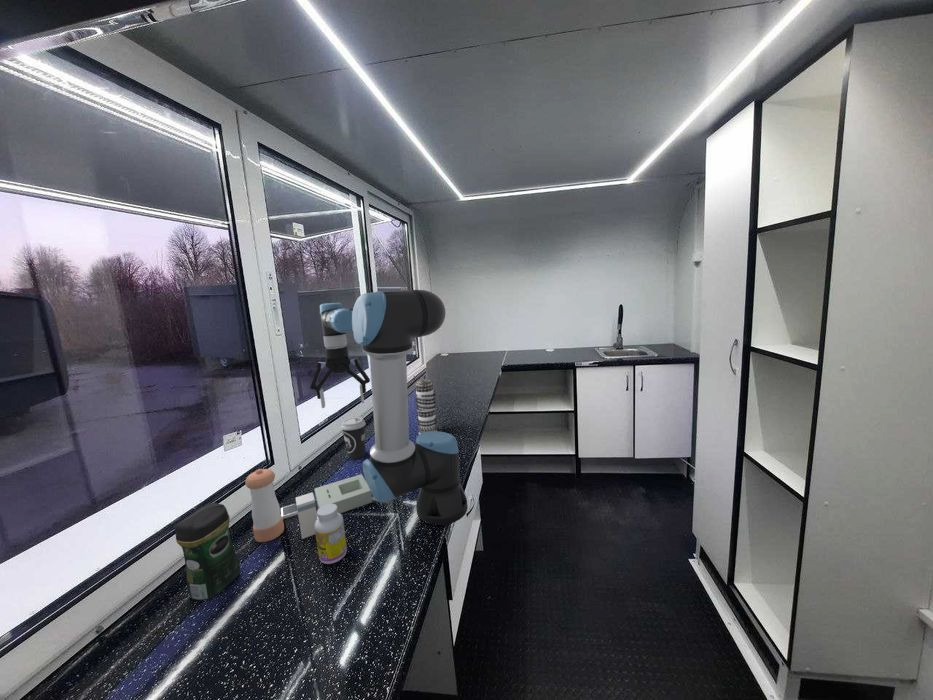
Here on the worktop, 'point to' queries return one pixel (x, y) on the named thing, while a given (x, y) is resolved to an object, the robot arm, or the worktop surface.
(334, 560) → the supplement bottle
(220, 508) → the coffee jar
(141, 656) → the worktop surface
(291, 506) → the phone
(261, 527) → the pepper shaker
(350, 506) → the outlet plate
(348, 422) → the coffee cup
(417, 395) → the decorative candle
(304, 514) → the block
